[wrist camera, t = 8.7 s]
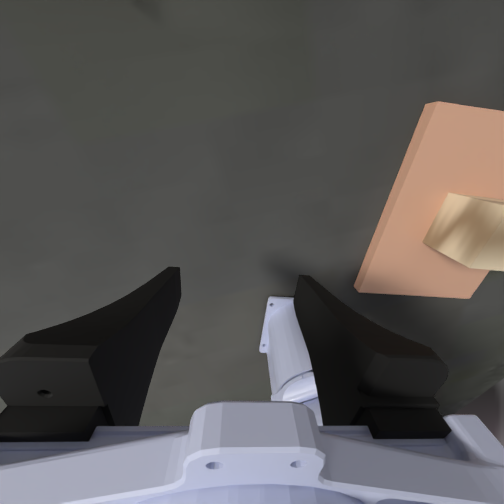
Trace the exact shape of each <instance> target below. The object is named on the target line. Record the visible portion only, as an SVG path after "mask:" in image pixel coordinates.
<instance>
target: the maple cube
mask: <svg viewBox="0 0 504 504" xmlns="http://www.w3.org/2000/svg"><path fill="white" fill-rule="evenodd" d="M422 243H424V244H426V245H428V246H430V247H432V248H433V249H435V250H437V251H439V252H441V253H443V254H444V255H446V256H448V257H450V258H452V259H454V260H456V261H457V262H459V263H461V264H463V265H465V266H467V267H468V268H474V269H485V270H496V271H504V200H501V199H495V198H487V197H480V196H472V195H464V194H456V193H448V195H447V197H446V198H445V200H444V202H443V204H442V206H441V208H440V210H439V211H438V213H437V215H436V217H435V219H434V221H433V223H432V225H431V226H430V228H429V230H428V232H427V234H426V236H425V238H424V240H423V241H422Z"/></svg>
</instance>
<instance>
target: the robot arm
mask: <svg viewBox="0 0 504 504" xmlns="http://www.w3.org/2000/svg"><path fill="white" fill-rule="evenodd" d="M180 298H181V280H180V267H168V268H166V269H165V270H164V271H162V272H161V273H159V274H158V275H157V276H155V277H154V278H153V279H151V280H150V281H148V282H147V283H146V284H144V285H142V286H141V287H139V288H138V289H136V290H135V291H133V292H131V293H130V294H128V295H126V296H125V297H123V298H121V299H119V300H117V301H115V302H113V303H111V304H109V305H107V306H105V307H103V308H100V309H98V310H96V311H94V312H92V313H89V314H87V315H84V316H82V317H79V318H76V319H74V320H71V321H68V322H65V323H62V324H59V325H56V326H53V327H50V328H46V329H43V330H40V331H36V332H33V333H29V334H26V335H25V336H24V337H23V338H22V339H20V340H19V341H18V342H17V343H16V344H15V345H14V346H13V347H11V348H10V349H9V350H8V351H7V352H6V353H5V354H4V355H2V356H1V357H0V396H1V398H2V399H3V400H4V402H5V403H6V404H7V407H6V408H5V409H4V410H3V411H2V413H1V414H0V504H504V447H503V446H502V444H501V443H500V442H499V441H498V440H497V439H496V438H495V436H494V435H493V434H492V433H491V432H490V431H489V429H488V428H487V427H486V426H485V425H484V424H483V423H482V421H481V420H480V419H479V418H478V417H477V416H476V415H473V414H450V415H446V416H443V417H442V416H441V415H440V413H439V412H438V411H437V409H436V408H438V407H439V404H438V402H437V401H436V400H435V398H434V397H433V395H434V394H435V393H436V392H437V391H438V389H439V388H440V387H441V386H442V385H443V384H444V382H445V381H446V379H447V377H448V372H449V371H448V367H447V365H446V364H445V363H444V362H443V361H442V360H441V359H440V358H439V357H438V355H437V354H436V353H435V352H434V351H433V350H432V349H431V348H429V347H427V346H424V345H422V344H419V343H417V342H414V341H412V340H409V339H406V338H404V337H402V336H400V335H398V334H395V333H393V332H391V331H389V330H387V329H385V328H383V327H381V326H379V325H377V324H375V323H374V322H372V321H370V320H368V319H366V318H365V317H363V316H361V315H360V314H358V313H357V312H355V311H354V310H352V309H351V308H349V307H348V306H346V305H345V304H344V303H342V302H341V301H340V300H338V299H337V298H336V297H334V296H333V295H332V294H331V293H330V292H328V291H327V290H326V289H325V288H324V287H322V286H321V285H320V284H319V283H318V282H317V281H315V280H314V279H313V278H312V277H310V276H307V275H299V279H298V283H297V287H296V291H295V295H294V298H293V297H274V296H272V297H269V298H268V302H267V308H266V314H265V319H264V325H263V330H262V336H261V342H260V347H259V350H260V352H261V353H267V358H268V366H269V374H270V382H271V390H272V396H271V401H217V402H210V403H207V404H205V405H203V406H202V407H200V408H198V409H197V410H195V412H194V414H193V416H192V418H191V421H190V426H139V422H140V418H141V414H142V410H143V406H144V403H145V399H146V396H147V392H148V388H149V385H150V382H151V378H152V375H153V372H154V368H155V365H156V362H157V359H158V356H159V352H160V350H161V347H162V344H163V342H164V340H165V337H166V335H167V333H168V330H169V328H170V326H171V324H172V321H173V319H174V317H175V314H176V312H177V309H178V306H179V302H180ZM271 303H273V304H271Z"/></svg>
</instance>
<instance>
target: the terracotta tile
mask: <svg viewBox="0 0 504 504" xmlns="http://www.w3.org/2000/svg"><path fill="white" fill-rule="evenodd" d="M448 193H456V194H464V195H472V196H480V197H487V198H495V199H501V200H504V111H498V110H492V109H485V108H478V107H471V106H465V105H458V104H451V103H445V102H433V103H428V104H425V107H424V109H423V112H422V114H421V117H420V119H419V122H418V124H417V127H416V129H415V132H414V135H413V137H412V140H411V142H410V145H409V147H408V150H407V152H406V155H405V157H404V160H403V162H402V165H401V167H400V170H399V172H398V175H397V177H396V180H395V183H394V185H393V188H392V190H391V193H390V195H389V198H388V200H387V203H386V205H385V208H384V210H383V213H382V215H381V218H380V220H379V223H378V226H377V228H376V231H375V233H374V236H373V238H372V241H371V243H370V246H369V248H368V251H367V253H366V256H365V258H364V261H363V263H362V266H361V268H360V271H359V274H358V276H357V279H356V281H355V284H354V287H355V288H356V290H357V291H358V292H362V293H379V294H396V295H413V296H430V297H448V298H465V299H469V298H470V297H471V296H472V294H473V293H474V291H475V290H476V289H477V287H478V286H479V285H480V283H481V282H482V280H483V279H484V278H485V276H486V275H487V273H488V272H489V271H490V270H485V269H474V268H468V267H467V266H465V265H463V264H461V263H459V262H457V261H456V260H454V259H452V258H450V257H448V256H446V255H444V254H443V253H441V252H439V251H437V250H435V249H433V248H432V247H430V246H428V245H426V244H424V243H422V241H423V240H424V238H425V236H426V234H427V232H428V230H429V228H430V226H431V225H432V223H433V221H434V219H435V217H436V215H437V213H438V211H439V210H440V208H441V206H442V204H443V202H444V200H445V198H446V197H447V195H448Z"/></svg>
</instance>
